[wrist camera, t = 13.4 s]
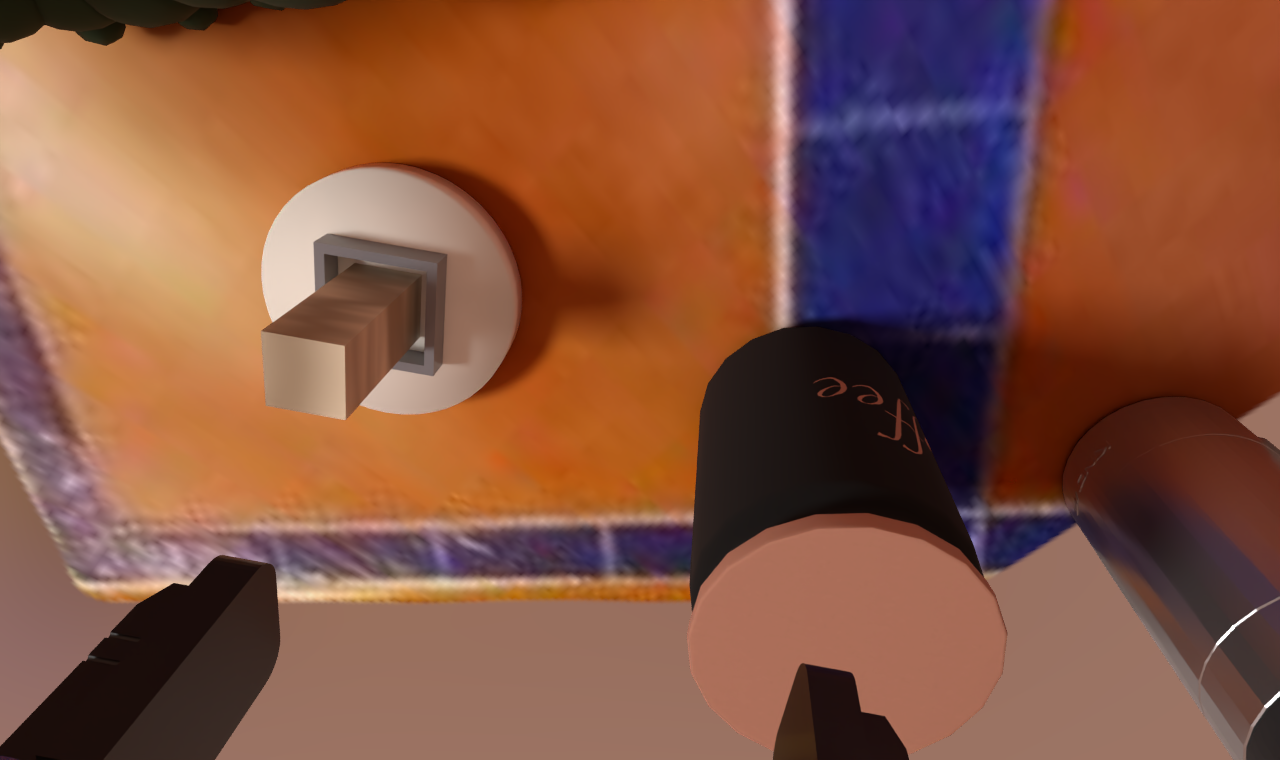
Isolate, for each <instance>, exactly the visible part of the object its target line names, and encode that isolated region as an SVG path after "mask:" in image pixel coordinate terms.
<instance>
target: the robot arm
mask: <svg viewBox="0 0 1280 760" xmlns="http://www.w3.org/2000/svg"><path fill="white" fill-rule="evenodd" d="M1062 491H1063V495H1064V500H1065V504H1066V506H1067V507H1068V509H1069V511H1070V513H1071V515H1072V517H1073V518H1074V520H1075V521H1076V523H1077V524H1078V526H1079V527H1080V528H1081V530H1082V532H1083V533H1084V535H1085V536H1086V538H1087V539H1088V541H1089V542H1090V544H1091V545H1092V547H1093V548H1094V550H1095V551H1096V553H1097V555H1098V556H1099V558H1100V560H1101V561H1102V563H1103V564H1104V565H1105V567H1106V569H1107V570H1108V572H1109V573H1110V575H1111V576H1112V578H1113V579H1114V581H1115V582H1116V584H1117V585H1118V587H1119V588H1120V590H1121V591H1122V593H1123V594H1124V596H1125V597H1126V599H1127V600H1128V602H1129V603H1130V605H1131V606H1132V608H1133V609H1134V611H1135V612H1136V614H1137V615H1138V617H1139V618H1140V620H1141V622H1142V623H1143V625H1144V626H1145V627H1146V629H1147V631H1148V632H1149V634H1150V635H1151V637H1152V638H1153V640H1154V641H1155V643H1156V644H1157V646H1158V647H1159V649H1160V650H1161V652H1162V653H1163V655H1164V656H1165V658H1166V659H1167V661H1168V662H1169V664H1170V665H1171V667H1172V668H1173V670H1174V671H1175V672H1176V674H1177V676H1178V677H1179V679H1180V680H1181V682H1182V683H1183V685H1184V686H1185V688H1186V689H1187V691H1188V692H1189V694H1190V695H1191V697H1192V698H1193V700H1194V701H1195V703H1196V704H1197V706H1198V708H1199V709H1200V711H1201V712H1202V714H1203V715H1204V716H1205V718H1206V719H1207V721H1208V722H1209V724H1210V725H1211V727H1212V728H1213V730H1214V731H1215V733H1216V734H1217V736H1218V737H1219V739H1220V740H1221V742H1222V743H1223V745H1224V746H1225V748H1226V749H1227V751H1228V752H1229V754H1230V755H1231V757H1232V758H1233V760H1280V450H1279V449H1277V448H1276V447H1275V446H1274V445H1273V444H1271V443H1270V442H1269V441H1268V440H1267V439H1265V438H1260V437H1257V436H1256V435H1254V434H1253V433H1252V432H1251V431H1250V430H1248V429H1247V428H1246V427H1245V426H1244V425H1242V424H1241V423H1240V422H1239V421H1238V420H1237V419H1235V418H1234V417H1233V416H1231V415H1230V414H1229V413H1227V412H1226V411H1225V410H1223V409H1222V408H1221V407H1218V406H1216V405H1213V404H1211V403H1209V402H1206V401H1204V400H1199V399H1193V398H1188V397H1161V398H1155V399H1149V400H1144V401H1141V402H1138V403H1135V404H1132V405H1129V406H1126V407H1123V408H1122V409H1120V410H1118V411H1116V412H1114V413H1112V414H1110V415H1109V416H1107V417H1105V418H1104V419H1102V420H1101V421H1100V422H1099V423H1097V424H1096V425H1095V426H1093V427H1092V428H1091V429H1090V430H1089V431H1088V432H1087V433H1086V434H1085V435H1084V436H1083V437H1082V438H1081V440H1080V441H1079V442H1078V443H1077V444H1076V446H1075V448H1074V449H1073V451H1072V453H1071V454H1070V456H1069V458H1068V460H1067V463H1066V467H1065V470H1064V473H1063V485H1062ZM279 646H280V628H279V614H278V598H277V583H276V572H275V569H274V567H273V565H271V564H268V563H263V562H258V561H252V560H247V559H241V558H236V557H230V556H225V555H220V556H218V557H216V558H214V559H213V560H212V561H211V562H210V563H209V564H208V565H207V566H206V567H205V568H204V569H203V571H202V572H201V573H200V574H199V575H198V576H197V577H196V578H195V579H194V580H193V582H192V583H191V584H190V585H189V586H187V585H181V584H176V583H173V584H171V585H170V586H168V587H166V588H165V589H163V590H161V591H159V592H158V593H156V594H154V595H152V596H151V597H149V598H147V599H146V600H144V601H142V602H140V603H139V604H137V605H136V606H135V607H134V608H133V609H132V610H131V611H130V612H129V613H128V614H127V616H126V617H125V618H124V619H123V620H122V621H121V622H120V623H119V624H118V625H117V626H116V627H115V628H114V629H113V630H112V631H111V633H110V636H109V638H104V639H103V640H102V641H101V642H100V644H99V645H98V646H97V647H96V648H95V649H94V650H93V651H92V652H91V653H90V654H89V656H88V659H87V661H82V662H81V663H80V664H79V665H78V666H77V667H76V668H75V669H74V670H73V672H72V673H71V674H70V675H69V676H68V677H67V678H66V679H65V680H64V681H63V682H62V683H61V684H60V685H59V686H58V687H57V688H56V689H55V690H54V691H53V692H52V693H51V694H50V695H49V696H48V698H47V699H46V700H45V701H44V702H43V703H42V704H41V705H40V706H39V707H38V708H37V709H36V710H35V711H34V712H33V713H32V714H31V715H30V716H29V717H28V718H27V719H26V720H25V721H24V723H22V724H21V726H19V728H18V729H17V730H16V731H15V732H14V733H13V734H12V735H11V736H10V737H9V738H8V739H7V740H6V741H5V742H4V743H3V744H2V745H1V746H0V760H215V759H216V757H217V756H218V754H219V753H220V751H221V749H222V748H223V747H224V745H225V744H226V742H227V741H228V739H229V738H230V736H231V735H232V733H233V732H234V730H235V729H236V727H237V726H238V724H239V723H240V721H241V719H242V718H243V717H244V715H245V714H246V712H247V711H248V709H249V708H250V706H251V705H252V703H253V702H254V700H255V699H256V697H257V696H258V694H259V693H260V691H261V690H262V688H263V687H264V685H265V684H266V682H267V681H268V679H269V677H270V675H271V673H272V670H273V668H274V665H275V663H276V660H277V656H278V652H279ZM773 760H909V758H908V753H907V749H906V747H905V746H904V744H903V743H902V741H901V740H900V738H899V737H898V735H897V734H896V732H895V731H894V729H893V728H892V726H891V724H890V723H889V721H888V720H887V718H886V717H885V716H882V715H876V714H871V713H865V712H861V707H860V702H859V697H858V691H857V686H856V681H855V678H854V675H853V674H852V673H851V672H848V671H843V670H837V669H832V668H826V667H821V666H815V665H810V664H804V663H802V664H800V666H799V668H798V670H797V672H796V675H795V679H794V682H793V685H792V688H791V691H790V694H789V697H788V701H787V704H786V707H785V710H784V713H783V716H782V719H781V723H780V726H779V729H778V732H777V736H776V741H775V747H774V754H773Z"/></svg>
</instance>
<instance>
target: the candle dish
mask: <svg viewBox="0 0 1280 760" xmlns="http://www.w3.org/2000/svg"><path fill="white" fill-rule="evenodd" d="M354 263H359V264H364V265H370V266H376V267H381V268H387V269H393V270H398V271H404V272H410V273H415V274H421V275H422V287H421V318H420V337H419V339H418V340H417V341H416V342H415V343H414V344H413V345H412V346H411V348H410V349H409V350H408V351H407V352H406V353H405V354H404V355H403V357H402V358H401V359H400V360H399V361H398V362H397V363H396V364H395V366H394V367H393V368H392V369H391V370H390V371H389V372H388V373H387V374H386V376H385V377H384V378H383V379H382V380H381V381H380V382H379V383H378V385H377V386H376V387H375V388H374V389H373V390H372V391H371V392H370V394H369V395H368V396H367V397H366V398H365V399H364V400H363V401H362V403H361V404H360V405H361V406H364V407H367V408H370V409H374V410H378V411H382V412H387V413H395V414H422V413H431V412H435V411H439V410H443V409H446V408H449V407H451V406H454V405H456V404H458V403H460V402H462V401H464V400H465V399H467V398H469V397H471V396H472V395H473V394H475V393H476V392H477V391H478V390H480V389H481V388H482V387H483V386H484V385H485V384H486V383H487V382H488V381H489V380H490V378H491V377H492V376H493V375H494V373H495V372H496V370H497V369H498V367H499V366H500V364H501V363H502V361H503V359H504V358H505V356H506V354H507V353H508V351H509V349H510V347H511V345H512V343H513V341H514V339H515V337H516V334H517V330H518V327H519V324H520V318H521V312H522V287H521V279H520V274H519V271H518V267H517V263H516V260H515V257H514V255H513V252H512V250H511V247H510V245H509V243H508V242H507V240H506V238H505V236H504V234H503V232H502V231H501V229H500V228H499V227H498V225H497V224H496V222H495V221H494V220H493V218H492V217H491V216H490V215H489V214H488V212H487V211H486V210H485V209H484V208H483V207H482V206H481V205H480V204H479V203H478V202H477V201H476V200H475V199H473V198H472V197H471V196H470V195H469V194H468V193H466V192H465V191H464V190H462V189H461V188H459V187H458V186H456V185H455V184H453V183H452V182H450V181H448V180H446V179H444V178H442V177H440V176H438V175H437V174H434V173H431V172H429V171H426V170H423V169H421V168H417V167H413V166H408V165H404V164H396V163H367V164H362V165H356V166H352V167H349V168H346V169H343V170H340V171H338V172H336V173H333V174H331V175H329V176H327V177H325V178H322V179H320V180H318V181H317V182H315V183H313V184H311V185H309V186H307V187H306V188H304V189H303V190H301V191H300V192H299V193H297V194H296V195H295V196H294V197H293V198H292V199H291V200H290V201H289V202H288V203H287V204H286V205H285V206H284V207H283V208H282V210H281V211H280V213H279V214H278V216H277V217H276V219H275V220H274V222H273V224H272V227H271V229H270V231H269V233H268V236H267V239H266V243H265V246H264V251H263V257H262V286H263V293H264V298H265V302H266V305H267V309H268V312H269V315H270V317H271V320H272V322H274V321H276V320H277V319H278V318H280V317H281V316H282V315H284V314H285V313H287V312H288V311H289V310H291V309H292V308H293V307H295V306H296V305H298V304H299V303H300V302H302V301H303V300H304V299H306V298H307V297H309V296H310V295H311V294H313V293H314V292H315V291H317V290H318V289H320V288H321V287H322V286H324V285H325V284H326V283H328V282H329V281H331V280H332V279H333V278H335V277H336V276H337V275H339V274H340V273H342V272H343V271H344V270H346V269H347V268H348V267H350V266H351V265H353V264H354Z"/></svg>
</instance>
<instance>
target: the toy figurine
mask: <svg viewBox="0 0 1280 760" xmlns="http://www.w3.org/2000/svg"><path fill="white" fill-rule="evenodd" d="M249 1H250V2H251V3H252V4H253V5H254V6H259V7H264V8H269V9H275V10H281V11H282V10H283V9H284V8H295V9H312V8H319V7H326V6H333V5H337V4H339V3H342V2H344V1H346V0H0V49H1V48H2V46H3V44H4V43H10V42H14V41H17V40H19V39H22V38H25V37H28V36H30V35H33V34H35V33H36V32H37V31H38V30H39V29H40V28H41V27H43V26H44V25H47V26H50V27H53V28H56V29H61V30H68V31H75V32H76V33H77V34H78V35H79V36H81V37H82V38H83V39H84V40H85V41H89V42H93V43H97V44H101V45H105V46H107V45H109V44H111V43H113V42H115V41H117V40H118V39H120V38H122V37H123V34H124V31H125V28H126V26H125V24H128V25H133V26H140V27H146V28H154V27H159V26H163V25H168V24H173V23H177V22H178V23H179V24H180V25H182V26H183V27H185V28H187V29H194V30H205V29H207V28H208V27H209V26H210V25H211V24H212V23H213V22H214V21H215V20H216V18H217V16H218V11H217V8H220V9H225V8H229V7H233V6H237V5H240V4H243V3H246V2H249Z"/></svg>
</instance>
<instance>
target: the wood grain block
mask: <svg viewBox="0 0 1280 760" xmlns="http://www.w3.org/2000/svg"><path fill="white" fill-rule="evenodd" d="M421 287H422V275H421V274H415V273H410V272H404V271H398V270H393V269H387V268H381V267H376V266H370V265H364V264H359V263H354V264H353V265H351V266H350V267H348V268H347V269H346V270H344V271H343V272H342V273H340V274H339V275H337V276H336V277H335V278H333V279H332V280H331V281H329V282H328V283H326V284H325V285H324V286H322V287H321V288H320V289H318V290H317V291H315V292H314V293H313V294H311V295H310V296H309V297H307V298H306V299H304V300H303V301H302V302H300V303H299V304H298V305H296V306H295V307H293V308H292V309H291V310H289V311H288V312H287V313H285V314H284V315H282V316H281V317H280V318H278V319H277V320H276V321H274V322H273V323H271V324H270V325H269V326H267V327H266V328H264V329H263V330H262V331H261V338H262V354H263V369H264V385H265V401H266V406H270V407H276V408H281V409H287V410H292V411H298V412H303V413H309V414H314V415H320V416H325V417H331V418H336V419H342V420H346V419H347V418H348V417H349V416H350V415H351V414H352V413H353V412H354V410H355V409H356V408H357V407H358V406H359V405H360V404H361V403H362V401H363V400H364V399H365V398H366V397H367V396H368V395H369V394H370V392H371V391H372V390H373V389H374V388H375V387H376V386H377V385H378V383H379V382H380V381H381V380H382V379H383V378H384V377H385V376H386V374H387V373H388V372H389V371H390V370H391V369H392V368H393V367H394V366H395V364H396V363H397V362H398V361H399V360H400V359H401V358H402V357H403V355H404V354H405V353H406V352H407V351H408V350H409V349H410V348H411V346H412V345H413V344H414V343H415V342H416V341H417V340H418V339H419V337H420V318H421Z"/></svg>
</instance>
